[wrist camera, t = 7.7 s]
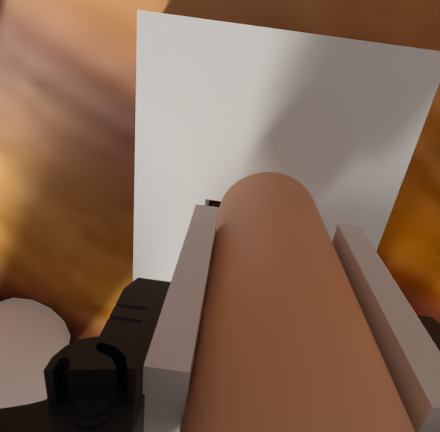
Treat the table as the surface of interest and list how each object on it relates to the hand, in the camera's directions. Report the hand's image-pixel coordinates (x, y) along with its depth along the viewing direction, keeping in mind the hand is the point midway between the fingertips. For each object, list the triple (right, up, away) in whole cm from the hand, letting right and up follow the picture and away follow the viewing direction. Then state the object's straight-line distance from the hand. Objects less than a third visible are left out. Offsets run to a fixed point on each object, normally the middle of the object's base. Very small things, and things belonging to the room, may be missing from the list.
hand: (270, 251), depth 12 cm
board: (0, -2, +11) cm, 11 cm away
